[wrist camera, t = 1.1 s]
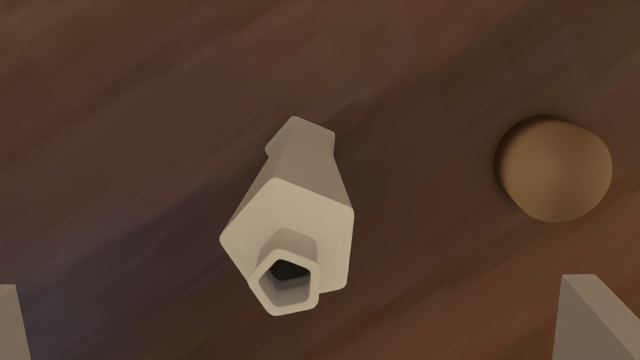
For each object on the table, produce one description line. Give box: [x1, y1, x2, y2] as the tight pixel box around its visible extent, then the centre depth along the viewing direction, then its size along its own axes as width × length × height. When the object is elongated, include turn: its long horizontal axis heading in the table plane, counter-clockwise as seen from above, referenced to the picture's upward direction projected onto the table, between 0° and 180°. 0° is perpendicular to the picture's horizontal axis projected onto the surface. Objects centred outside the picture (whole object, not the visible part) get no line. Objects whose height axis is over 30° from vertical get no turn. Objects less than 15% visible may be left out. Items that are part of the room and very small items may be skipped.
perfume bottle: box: [220, 116, 354, 316], centre depth 23 cm, size 5×4×15 cm
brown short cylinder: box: [494, 115, 612, 223], centre depth 29 cm, size 5×5×3 cm
